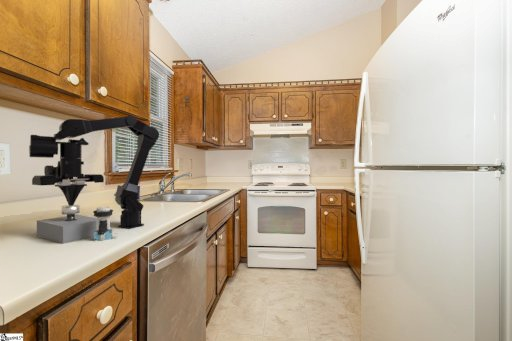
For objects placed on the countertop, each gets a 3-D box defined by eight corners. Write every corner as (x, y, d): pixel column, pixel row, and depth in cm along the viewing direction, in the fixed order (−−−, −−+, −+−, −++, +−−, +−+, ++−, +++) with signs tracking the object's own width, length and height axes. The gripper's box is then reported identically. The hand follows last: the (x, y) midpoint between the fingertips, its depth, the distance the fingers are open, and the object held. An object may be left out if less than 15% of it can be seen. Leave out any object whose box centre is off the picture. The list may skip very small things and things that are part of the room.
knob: (74, 226, 87) (74, 204, 87) (82, 227, 85) (82, 205, 85) (58, 229, 83) (58, 206, 83) (66, 231, 80) (66, 207, 80)
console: (76, 228, 93) (76, 214, 93) (103, 234, 85) (103, 219, 85) (36, 235, 82) (36, 220, 82) (63, 243, 75) (63, 226, 75)
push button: (118, 235, 84) (118, 205, 84) (116, 240, 79) (116, 208, 79) (94, 237, 81) (94, 206, 81) (91, 242, 76) (91, 209, 76)
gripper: (86, 159, 95) (86, 200, 96) (23, 157, 79) (23, 207, 79) (104, 159, 90) (104, 202, 90) (41, 157, 74) (41, 210, 74)
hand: (71, 205), depth 84 cm, fingers closed
